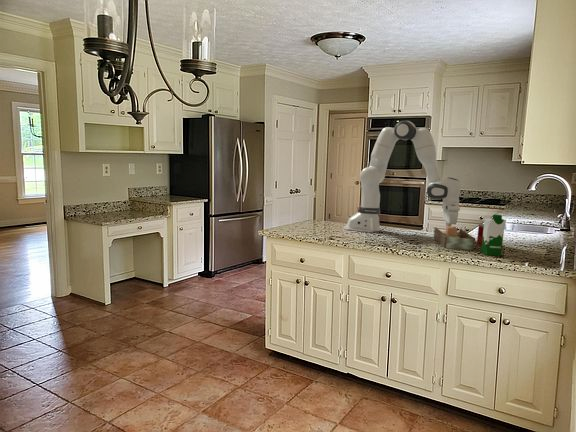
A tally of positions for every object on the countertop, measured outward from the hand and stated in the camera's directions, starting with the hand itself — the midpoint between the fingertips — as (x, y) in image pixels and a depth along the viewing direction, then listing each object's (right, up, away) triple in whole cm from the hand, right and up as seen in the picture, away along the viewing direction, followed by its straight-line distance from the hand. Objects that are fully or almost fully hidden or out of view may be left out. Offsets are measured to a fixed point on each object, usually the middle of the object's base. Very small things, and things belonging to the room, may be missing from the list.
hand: (448, 229), depth 252 cm
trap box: (-2, -7, -12) cm, 14 cm away
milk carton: (+8, -11, -35) cm, 37 cm away
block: (-1, -2, -8) cm, 8 cm away
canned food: (+16, -8, -12) cm, 21 cm away
